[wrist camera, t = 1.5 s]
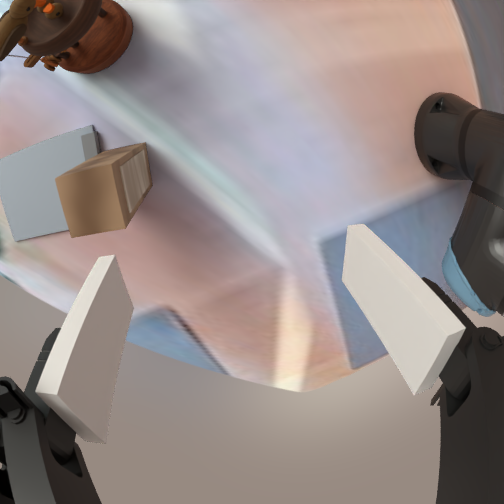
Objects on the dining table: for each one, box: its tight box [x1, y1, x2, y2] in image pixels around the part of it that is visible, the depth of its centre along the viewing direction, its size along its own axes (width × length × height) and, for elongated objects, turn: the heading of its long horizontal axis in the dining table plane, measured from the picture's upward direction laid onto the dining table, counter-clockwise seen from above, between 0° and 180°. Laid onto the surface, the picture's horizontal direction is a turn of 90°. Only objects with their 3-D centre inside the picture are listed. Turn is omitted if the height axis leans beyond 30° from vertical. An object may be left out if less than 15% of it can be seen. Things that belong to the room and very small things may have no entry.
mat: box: [0, 125, 101, 241], centre depth 32 cm, size 20×14×1 cm
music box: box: [0, 0, 133, 74], centre depth 16 cm, size 15×11×20 cm
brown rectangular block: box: [55, 142, 153, 238], centre depth 28 cm, size 6×6×14 cm
